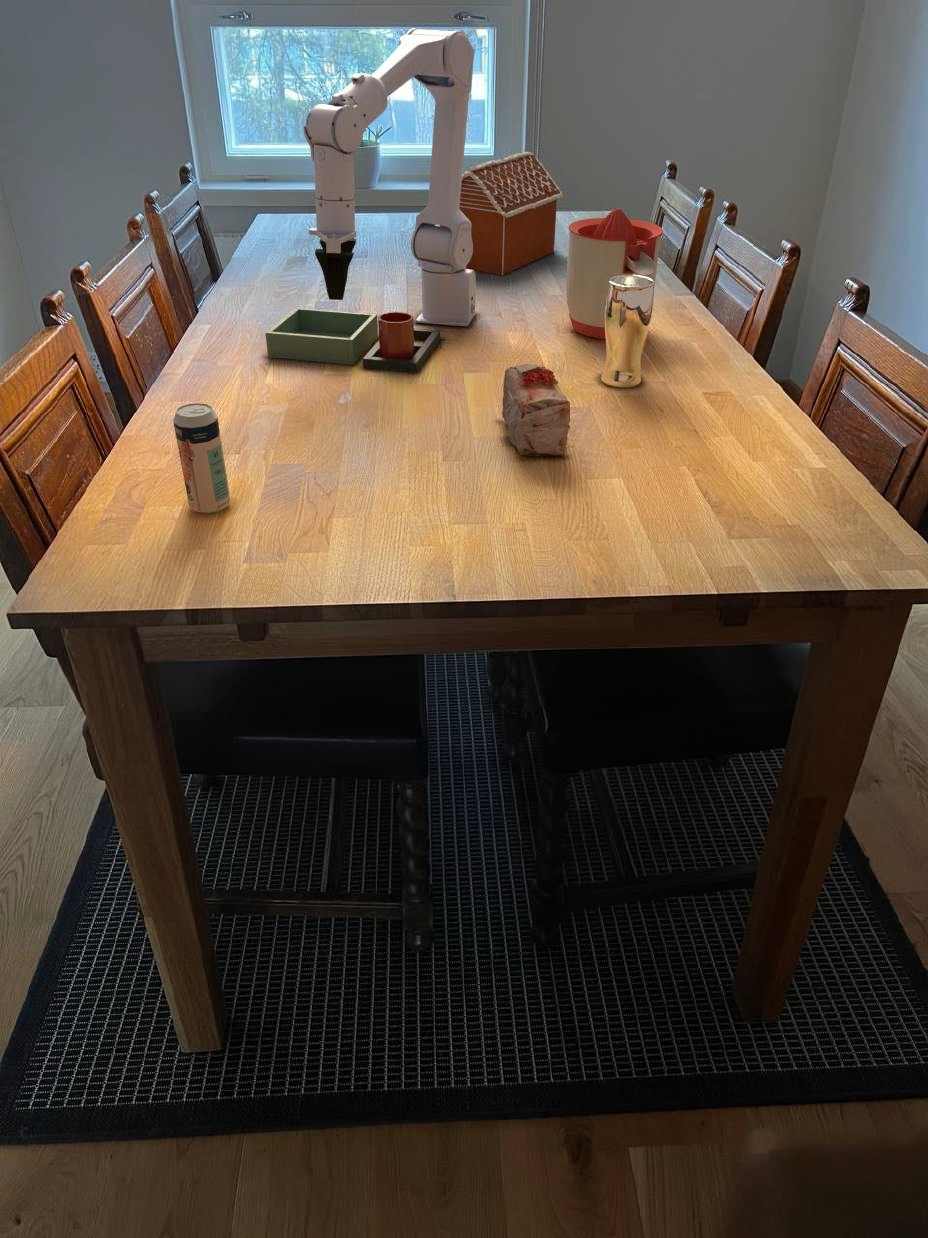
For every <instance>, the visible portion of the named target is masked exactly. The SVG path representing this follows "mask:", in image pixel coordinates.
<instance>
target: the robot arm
mask: <svg viewBox="0 0 928 1238" xmlns="http://www.w3.org/2000/svg"><path fill="white" fill-rule="evenodd" d="M474 58H475V50H474V47H473V44H472V43H471V41H470V39H469V38H468V36H467V34H466V33H465V32H464V31H462V30H451V31H450V30H435V29H434V30H433V29H420V28H418V27H417V28H415V27H413V28H411V29H409V30H408V31H407V32H406V34H404V35H402V36H400V37H399V41H398V47H397V48H396V49H395V50H394V51H393V52H392V53H391V55H390V56H389V57H387V59H386V60H384V61H383V63H382V64H381V65H380V66H379V67H378V68H377V69H376V71H375V72H373V74H369V73H355V74H353V76H351V77H350V78H351V79H350V80H351V82H350V83H349V84H348V85H346V86H345V87H344V88H343V89H342V90H341V91H339V92H338V93H337V92H336V93H334V94H333V95H332V96H331V100H330V101H329V102H328V103H327V104H324V103H319V104H316V105H315V106H314V107H313V108H312V109H311V110H310V111H309V113H308V114H307V115H306V118H305V119H306V120H305V125H303V133H304V137H305V140H306V142H307V143H308V145H309V149H310V158H311V159H312V161H313V167H314V193H315V220H316V223H315V224H316V227H310V228H308V235H309V236H315V237H317V238H319V245H320V246H321V248H315V250H314V255H315V258H316V259H317V261H318V264H319V267H320V268H321V271H322V275H323V279H324V283H325V284H324V285H325V289H326V293H327V297H328V299H329V301H343V300H344V296H345V291H346V286H347V281H348V275H349V268H350V264H351V262H352V260H353V258H354V256H355V253H354V248H355V246H356V244H357V238H356V237H357V230H356V211H355V210H356V209H355V208H356V207H355V204H356V203H355V202H356V201H355V151H356V150H358V149H359V148H360V146H361V144H362V140H363V136H364V133H366V131H367V128H368V127H370V125H372V123H373V122H374V121H376V119H378V118H379V117H380V116H381V115H382V114H383V113H384V112H386V110H387V108H388V102H389V101H388V99H389V98H388V97H390V96H391V95H392V94H393V93H395V92H396V91H397V90H398V89H400V88H401V87H403V86H404V85H405V84H406V83H408V82H409V81H410V80H411V79H415V80H416V81H417V82H418V83H419V84H420V85H421V86H422V87H423V88H425V89H426V90H427V91H428V92H429V93H430V95H431V96H432V98H433V99H434V101H435V102H434V115H433V131H432V144H431V156H430V157H431V159H430V172H429V184H428V185H429V186H428V200H427V206H426V207H425V208H424V209H423V210H422V211H421V212H419V213H418V214H417V215H416V217H415V225H414V230H413V232H412V235H411V239H410V250H411V254H412V256H413V258H414V259H415V260H416V261H417V266H418V267H420V268H421V313H420V314H419V315H418V316H417V318H415V323H417V324H429V325H443V326H452V327H453V326H455V327H468V326H469V325H470V323H471V322H472V321H473V319H474V317H475V316H476V314H477V311H476V295H477V294H476V290H477V289H476V287H477V286H476V285H477V282H476V281H477V279H476V272H475V271H476V270H472V269H466V265H467V264H468V263H469V261H470V259H471V257H472V253H473V242H472V237H471V227H472V224H471V222H470V221H469V219H468V218H467V217H466V216H465V215H464V214H463V213H462V212H461V210H460V209H459V206H460V194H461V182H462V174H463V170H464V160H465V159H464V158H465V148H466V147H465V146H466V135H467V124H468V123H467V122H468V113H469V100H470V93H471V91H472V80H473V70H474ZM440 225H442V226H447V227H449V228H450V229H449V228H444V227H440Z"/></svg>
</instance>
